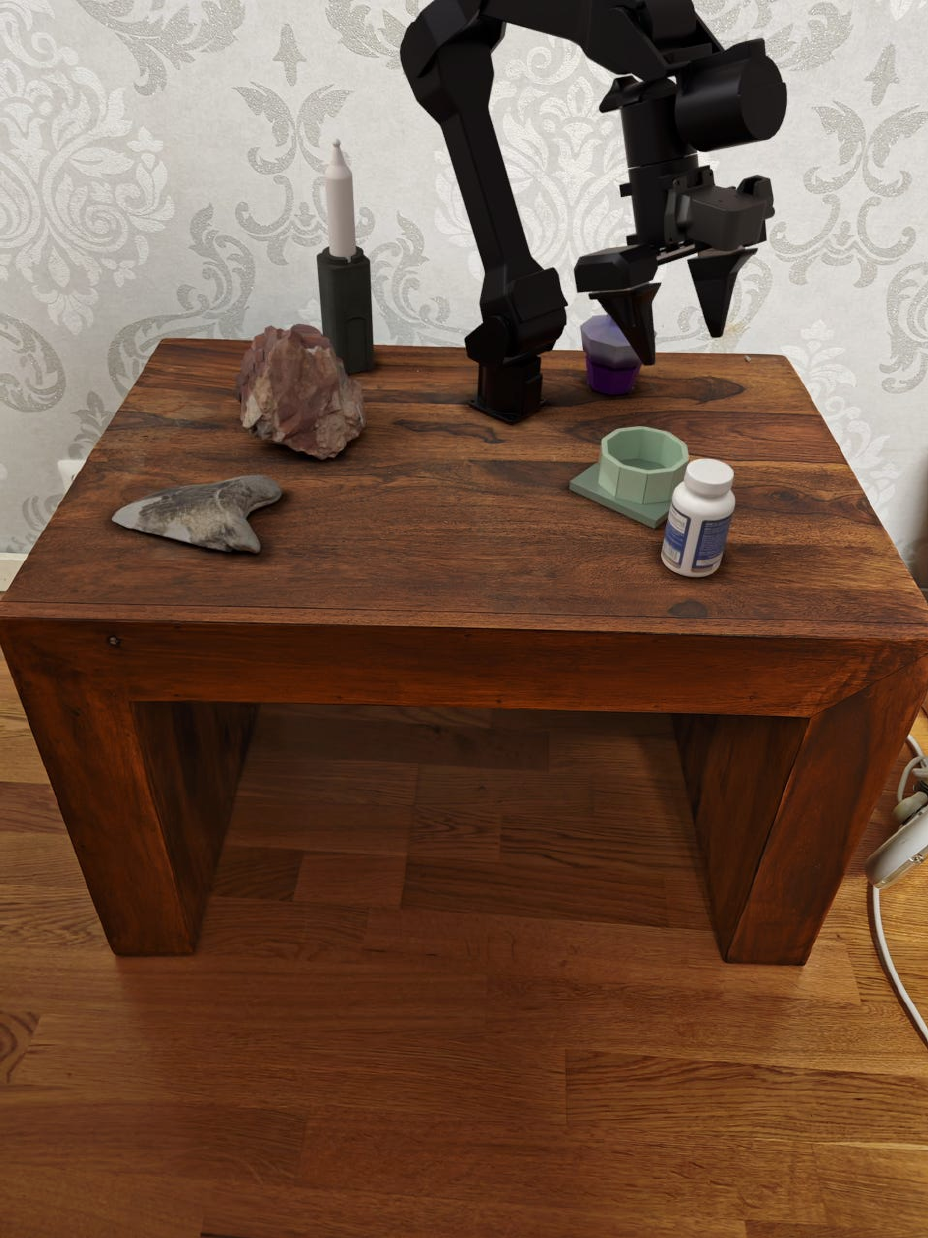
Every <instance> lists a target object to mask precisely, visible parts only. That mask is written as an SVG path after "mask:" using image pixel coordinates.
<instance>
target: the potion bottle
mask: <svg viewBox="0 0 928 1238" xmlns="http://www.w3.org/2000/svg"><path fill="white" fill-rule="evenodd" d="M601 308H602V309H603V311H604V312H605V314H597V315H592V316H590V317H589V318H588V319H587V320H586V321H584V322H583V323H582V324H581V325H579V330H580V338H581V339H580V340H581V346H582V352H584V353H585V354H586V355H585V356H584V357H585V365H586V366H585V367H586V374H587V375H586V376H587V382H586V385H587V386H588V387H589V389H590V390H591V392H592V393H596V394H599V395H602V396H605V397H609V398H613V397H622V396H628V395H629V394H630V393H631V392H632V391H634V389H635V388H636V387H635V386H634V385H635V383H636V381H637V378H638V375H639V373H640V371H641V369H642V366H643V363H642V362H641V360H640V359H639V357H638V356H637V354H636V353H635V351H634V350H633V348H632V347H631V345H630V344H629V342H628V341H627V339H626V338H625V336H624V335H623V333H622V332H621V330H620V329H619V327H618V326H617V324H616V323H615V322H614V320H613V319H612V318H611V317H610V315H609V314H608V313H607V312H606V310H605V309H604V308H603V307H602V306H601ZM654 335H655V338H656V337H657V335H658V332H657V331H656V330H655V329H654Z"/></svg>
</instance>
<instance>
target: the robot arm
mask: <svg viewBox="0 0 928 1238" xmlns="http://www.w3.org/2000/svg"><path fill="white" fill-rule="evenodd" d="M508 24H510V25H514V26H517V27H520V28H524V29H527V30H532V31H535V32H538V33H541V34H546V35H549V36H552V37H556V38H560V39H563V40H567V41H570V42H572V43H573V44H575V45H576V46H579V48H580V49H581V51H582V52H583V54H584V56H585V57H586V59H588V60H590V61H591V62H592V63H595V64H596V65H598V66H599V67H602V68H603V69H605V70H607V71H609V72H610V73H612V74H614V75H616V76H619V77H614V78H613V80H612V82H611V83H612V84H611V86H610V88H609V90H608V91H607V93H606V94H605V95H604V97H603V98H602V100H601V102H600V103H599V105H598V112H600V113H601V114H606V113H611V112H615V111H619V112H620V120H621V128H622V136H623V144H624V151H625V158H626V159H625V161H626V166H627V175H628V182H624V183H621V184H618V188H619V196H620V198H627V197H631V198H630V199H631V207H632V213H633V214H632V215H633V221H634V222H633V223H634V229H635V233H632V234H628V235H625V240H626V245H623V246H615V247H614V246H613V247H607V248H604V249H600V250H597V251H594V252H591V253H588V254H584V255H581V256H579V257H578V259H577V261H576V263H575V266H574V267H573V276H574V282H575V288H576V293H577V294H579V293H587V295H588V299H589V300H590V301H594V300H595V301H597V302H598V303H599V304H600V306H601V308H602V307H603V308H604V309H605V310H606V311H605V310H604V309H603V308H602V309H603V310H604V311H605V313H606V312H607V313H608V314H609V315H610V317H611V318H612V319H613V320H614V322H615V323H616V324H617V326H618V327H619V329H620V330H621V332H622V333H623V335H624V336H625V338H626V339H627V341H628V342H629V344H630V345H631V347H632V348H633V350H634V351H635V353H636V354H637V356H638V357H639V359H640V360H641V362H642V366H646V367H652V366H654V365H655V364H656V351H657V349H656V348H657V347H656V337H655V335H654V330H655V324H654V311H653V302H654V301H655V298H656V296H657V294H658V292H659V290H660V288H661V286H662V282H658V281H657V282H652V281H654V278H655V276H656V274H657V271H658V270H659V267H660V266H663V265H666V264H669V263H672V262H675V261H679V260H681V259H684V258H686V257H690V256H693V255H696V254H697V256H693V257H690V258H687V259H686V262H687V266H688V270H689V273H690V276H691V281H692V283H693V287H694V289H695V293H696V297H697V299H698V303H699V306H700V309H701V313H702V316H703V320H704V323H705V325H706V328H707V331H708V334H709V335H710V338H712V339H720V338H722V337H723V336H724V332H725V328H726V324H727V319H728V315H729V311H730V305H731V301H732V296H733V291H734V288H735V284H736V281H737V279H738V275H739V272H740V271H741V269H742V268H743V267H744V266H745V265H746V263H747V262H748V261H749V260H750V259H751V258H752V256H755V255H756V254H757V253H758V251H759V247H752V246H755V245H758V244H761V243H764V242H767V241H768V237H767V225H766V224H767V223H766V220H768V219H771V218H773V217H774V216H775V215H776V209H775V207H774V203H775V202H774V201H775V196H774V192H773V191H774V190H773V187H772V181H771V178H770V177H766V176H763V175H759V174H755V175H752V176H748V177H745V178H743V179H742V180H741V181H740V183H739V184H738V186H735V185H731V186H728V187H723V186H719V185H716V182H715V174H714V173H715V172H714V170H713V169H712V168H711V165H710V164H707V165H700V164H699V154H698V152H700V153H710V152H715V151H720V150H724V149H729V148H735V147H739V146H745V145H749V144H754V143H759V142H765V141H768V140H771V139H772V138H774V137H775V136H776V135H777V134H778V132H779V131H780V130H781V128H782V126H783V123H784V121H785V120H784V119H785V117H786V113H787V104H788V89H787V83H786V82H784V80H783V77H782V73H781V70H780V69H779V67H778V65H777V64H776V62H775V61H774V59H772V58H771V57H770V56H769V55H767V51H766V41H765V39H764V37H758V38H754V39H753V38H752V39H748V40H745V41H741V42H737V43H734V44H733V45H731V46H730V47H728V48H726V49H725V48H724V47H723V45H722V44H721V42H720V40H718V38H717V37H716V36H715V34H713V32H712V30H710V28H709V26H708V25H707V24H706V22H704V21H703V19H702V18H701V16H700V15H699V14H698V12H697V11H696V8H695V4H694V2H693V0H432V1H431V2H429V4H427V5H426V6H425V7H424V8H423V9H422V10H421V11H420V12H419V13H418V15H417V16H416V18H415V20H414V21H412V22H410V24H408V26H407V27H406V29H405V32H404V35H403V38H402V40H401V42H400V46H399V47H400V48H399V59H400V60H399V61H400V63H401V67H402V70H403V73H404V75H405V78H406V79H407V82H408V84H409V87H410V90H411V91H412V94H413V95H414V96H413V97H414V98H415V101H416V103H418V105H420V107H421V108H422V109H423V110H424V111H425V112H426V113H427V114H428V115H429V117H431V118H432V119H433V120H434V121H435V122H436V123H437V124H438V125H439V128H440V129H441V132H442V136H443V139H444V142H445V146H446V148H447V152H448V155H449V159H450V162H451V165H452V168H453V172H454V175H455V178H456V182H457V185H458V188H459V191H460V195H461V199H462V202H463V205H464V208H465V211H466V215H467V218H468V221H469V224H470V227H471V231H472V234H473V237H474V241H475V244H476V247H477V251H478V253H479V257H480V261H481V264H482V266H483V272H484V275H483V281H482V286H481V292H480V297H479V303H478V304H479V311H480V314H481V321H482V323H480V324H479V325H478V326H477V327H476V328H474V329H473V330H472V331H471V332H470V333H468V334H467V335H466V336H465V337H464V339H463V342H464V347H465V350H466V351H465V352H466V357H467V358H468V359H470V360H472V361H473V362H475V363H477V365H478V368H477V369H478V370H477V391H476V393H477V395H476V396H474V397H472V398H470V399H468V401H467V405H468V407H470V408H472V409H475V410H477V411H480V412H482V413H483V414H486V415H489V416H491V417H493V418H495V419H498V420H500V421H502V422H504V423H506V424H509V425H515V424H516V423H517V422H520V421H521V420H523V419H524V418H526V417H528V416H530V415H531V414H532V413H534V412H535V411H537V410H539V409H541V408H542V407H544V406H545V405H546V404H547V399H545V398H544V397H542V391H543V381H544V380H543V379H544V375H543V372H541V369H542V368H541V367H542V357H541V356H539V355H542V354H545V353H549V352H551V351H553V349H554V347H555V345H556V342H558V341H557V340H559V339H560V337H561V336H562V335H563V333H564V330H565V327H566V326H567V325H568V323H567V322H568V316H567V310H566V307H568V306H569V302H568V300H567V299H566V297H565V295H564V292H563V289H562V286H561V280H560V279H561V278H560V275H559V274H560V273H558V271H557V269H556V268H555V267H554V266H551V267H548V268H546V269H545V268H543V266H541V264H539V262H538V261H537V260H536V259H535V258H534V257H533V255H532V253H531V250H530V247H529V244H528V240H527V237H526V233H525V231H524V227H523V223H522V220H521V215H520V212H519V209H518V205H517V202H516V200H515V195H514V191H513V189H512V185H511V181H510V178H509V174H508V171H507V168H506V164H505V160H504V157H503V155H502V150H501V147H500V144H499V139H498V137H497V133H496V130H495V126H494V123H493V119H492V116H491V111H490V108H489V107H490V101H491V95H492V90H493V85H494V80H495V68H494V63H493V56H492V54H493V53H494V52H495V50H496V49H497V47H498V46H499V45H500V44H501V43H502V41H503V40H504V38H505V37H506V33H507V32H506V31H507V26H508ZM635 77H636V78H637V79H639V80H641V81H639V80H637V79H636V78H635ZM670 78H675V81H674V80H672V79H670ZM607 313H606V314H607Z"/></svg>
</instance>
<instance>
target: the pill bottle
mask: <svg viewBox="0 0 928 1238" xmlns="http://www.w3.org/2000/svg"><path fill="white" fill-rule="evenodd" d="M734 477H735V473H734V469H732V467H731V466H730V465H728V464H727V463H725V462H723V461H721V460H718V459H713V458H698V459H695V460H691V461H689V464H688V466H687V469H686V473H685V476H684V481H683V482H681V483H680V484H679V485H678V486H677V487H676V488H675V490H674V492H673V496H672V501H671V506H670V511H669V516H668V518H667V519H666V520H667V522H666V525H665V532H664V536H663V542H662V548H661V553H660V554H661V555H660V556H661V560H662V562H663V564H664V565H665V566H666V567H667V568H668V569H669V570H671V571H672V572H674V573H676V574H678V575H681V576H684V577H690V578H702V577H708V576H710V575H712V574H714V573H715V572H717V570H718V569H719V567H720V565H721V561H722V558H723V555H724V551H725V547H726V543H727V539H728V534H729V532H730V531H729V530H730V526H731V523H732V519H733V515H734V511H735V506H736V497H735V494H734V493H733V491H732V490H731V489H732V487H733V481H734Z"/></svg>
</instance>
